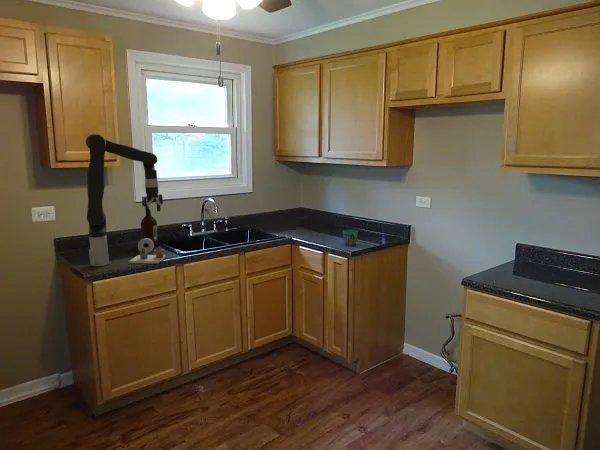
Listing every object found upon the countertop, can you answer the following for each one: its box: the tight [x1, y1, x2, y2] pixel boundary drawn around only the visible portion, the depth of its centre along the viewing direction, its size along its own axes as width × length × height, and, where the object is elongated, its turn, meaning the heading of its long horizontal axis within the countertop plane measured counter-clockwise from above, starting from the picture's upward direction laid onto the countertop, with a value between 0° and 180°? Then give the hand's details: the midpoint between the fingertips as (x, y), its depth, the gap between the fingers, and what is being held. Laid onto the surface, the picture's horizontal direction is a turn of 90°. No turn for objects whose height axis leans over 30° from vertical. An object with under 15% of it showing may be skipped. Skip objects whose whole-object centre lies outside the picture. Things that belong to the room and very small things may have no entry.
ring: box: [153, 248, 165, 255], centre depth 273 cm, size 6×6×2 cm
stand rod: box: [139, 246, 149, 259], centre depth 270 cm, size 4×4×6 cm
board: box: [129, 254, 167, 265], centre depth 272 cm, size 17×14×2 cm
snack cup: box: [342, 229, 359, 247], centre depth 309 cm, size 16×10×10 cm
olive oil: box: [140, 209, 158, 248], centre depth 307 cm, size 11×11×25 cm
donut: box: [137, 238, 155, 254], centre depth 288 cm, size 10×4×10 cm, turn 113°
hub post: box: [155, 246, 164, 258], centre depth 273 cm, size 4×4×6 cm
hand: (153, 212), depth 276 cm, fingers open, 8 cm apart
